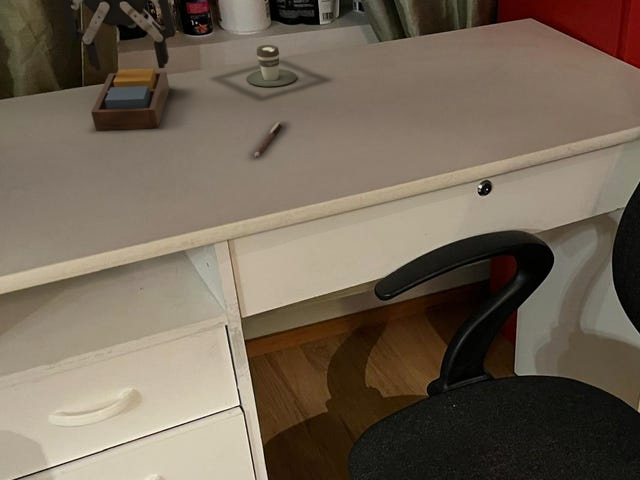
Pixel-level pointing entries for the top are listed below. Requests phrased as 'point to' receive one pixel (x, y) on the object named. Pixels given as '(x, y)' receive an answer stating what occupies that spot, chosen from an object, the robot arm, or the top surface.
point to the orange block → (136, 78)
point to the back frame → (131, 117)
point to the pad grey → (128, 97)
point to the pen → (268, 138)
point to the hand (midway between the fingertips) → (131, 67)
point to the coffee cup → (270, 69)
